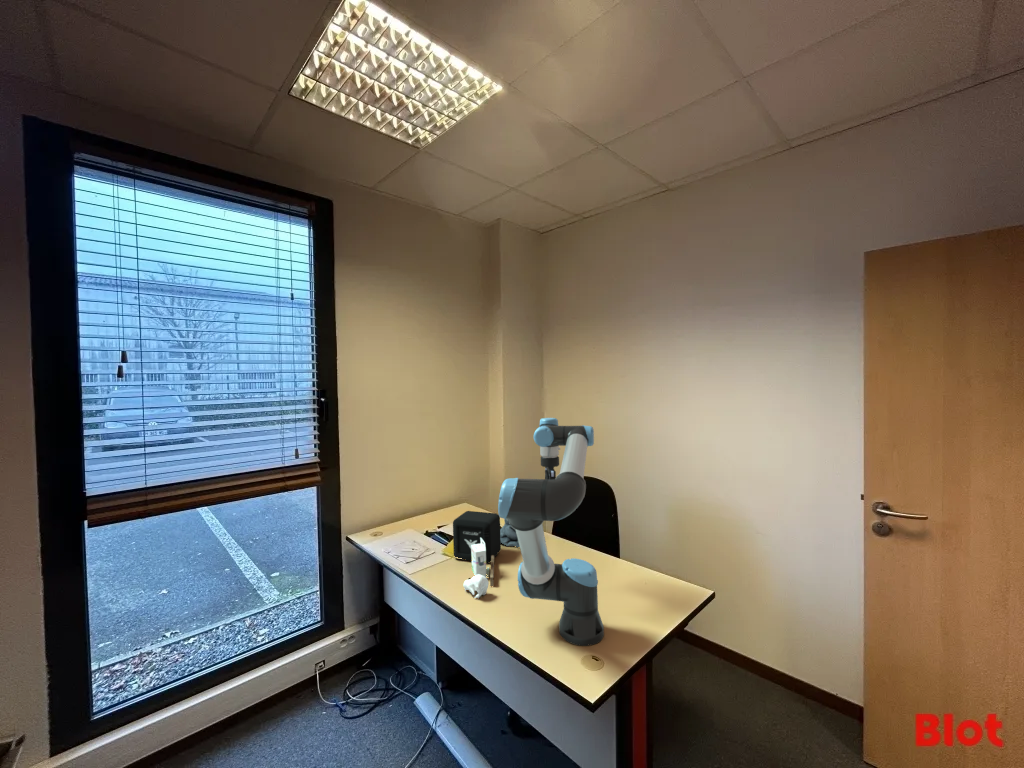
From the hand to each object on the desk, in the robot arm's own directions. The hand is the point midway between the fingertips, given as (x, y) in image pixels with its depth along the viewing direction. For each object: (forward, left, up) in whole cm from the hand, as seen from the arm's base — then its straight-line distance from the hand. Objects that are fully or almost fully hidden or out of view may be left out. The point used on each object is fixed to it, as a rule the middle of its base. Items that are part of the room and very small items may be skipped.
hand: (551, 508), depth 164 cm
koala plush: (+54, +15, -35) cm, 66 cm away
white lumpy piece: (+2, +32, -35) cm, 47 cm away
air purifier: (+37, +33, -35) cm, 61 cm away
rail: (+18, +25, -35) cm, 46 cm away
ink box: (+18, +31, -34) cm, 50 cm away
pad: (+19, +31, -35) cm, 50 cm away
